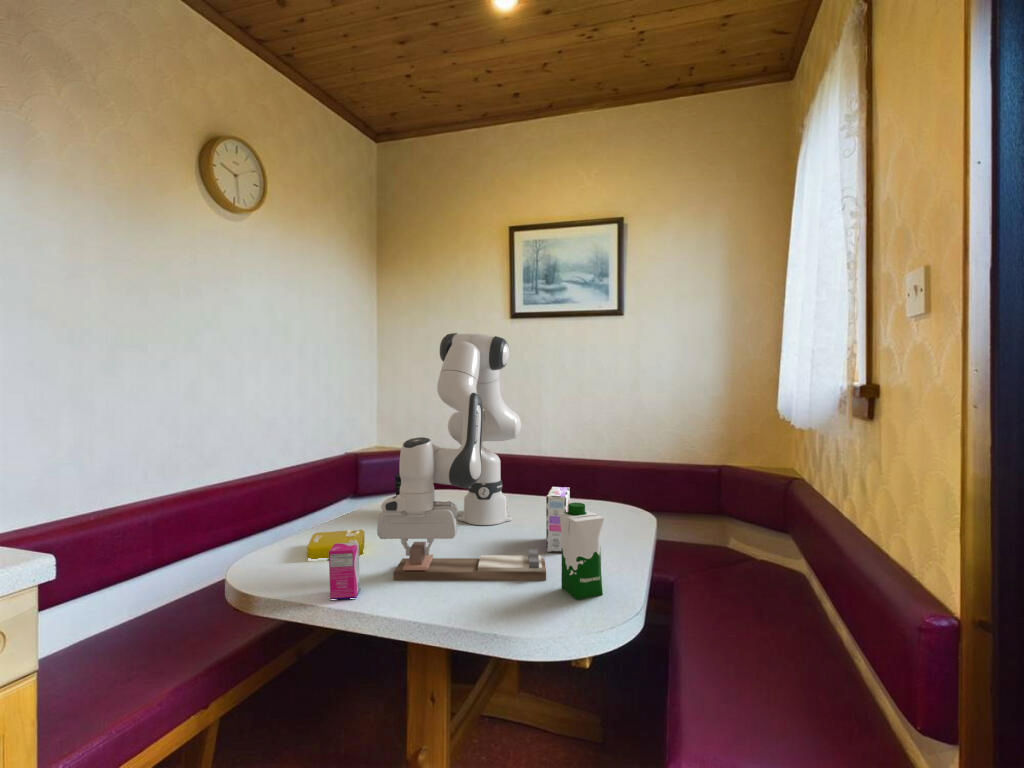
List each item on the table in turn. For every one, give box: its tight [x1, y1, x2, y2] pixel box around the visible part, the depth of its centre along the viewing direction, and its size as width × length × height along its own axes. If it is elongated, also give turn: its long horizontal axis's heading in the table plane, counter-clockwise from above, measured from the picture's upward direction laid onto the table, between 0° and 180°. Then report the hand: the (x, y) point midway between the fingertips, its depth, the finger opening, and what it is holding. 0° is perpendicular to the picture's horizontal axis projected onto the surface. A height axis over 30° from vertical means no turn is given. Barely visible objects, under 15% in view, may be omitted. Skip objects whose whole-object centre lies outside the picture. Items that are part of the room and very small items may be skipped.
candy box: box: [545, 486, 571, 554], centre depth 156 cm, size 14×6×16 cm, turn 168°
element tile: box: [306, 529, 366, 559], centre depth 152 cm, size 15×15×5 cm
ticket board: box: [392, 548, 547, 581], centre depth 134 cm, size 10×38×5 cm, turn 89°
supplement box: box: [328, 542, 361, 599], centre depth 121 cm, size 6×6×12 cm
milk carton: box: [559, 502, 605, 601], centre depth 122 cm, size 9×9×20 cm
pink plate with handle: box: [403, 541, 434, 570], centre depth 134 cm, size 9×6×5 cm, turn 179°
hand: (417, 555), depth 135 cm, fingers closed on pink plate with handle, 3 cm apart
